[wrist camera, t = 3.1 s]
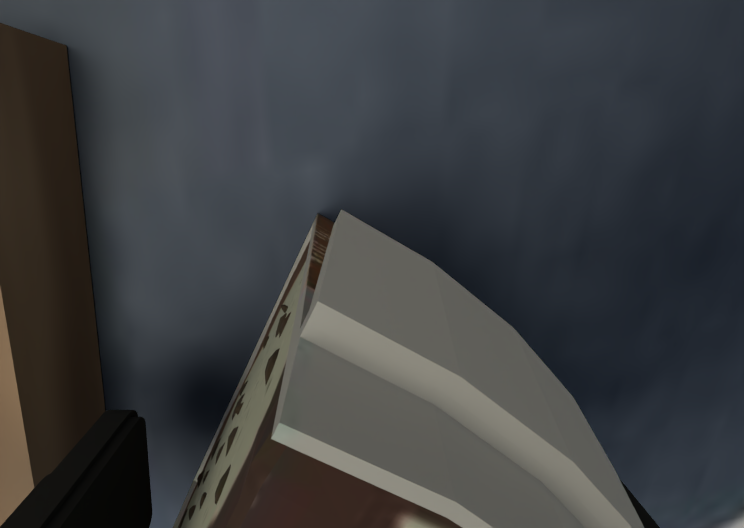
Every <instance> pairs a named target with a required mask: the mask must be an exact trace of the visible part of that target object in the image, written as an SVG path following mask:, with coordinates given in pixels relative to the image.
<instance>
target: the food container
mask: <svg viewBox="0 0 744 528" xmlns="http://www.w3.org/2000/svg"><path fill="white" fill-rule="evenodd" d="M173 528H644V526H643V524H642V522H641V520H640V518H639V516H638V514H637V512H636V510H635V508H634V507H633V505H632V503H631V501H630V499H629V497H628V495H627V493H626V491H625V489H624V487H623V485H622V483H621V481H620V479H619V477H618V475H617V473H616V471H615V469H614V468H613V466H612V464H611V462H610V460H609V459H608V457H607V455H606V453H605V452H604V450H603V448H602V446H601V445H600V443H599V441H598V439H597V438H596V436H595V434H594V432H593V431H592V429H591V427H590V425H589V424H588V422H587V420H586V418H585V417H584V415H583V413H582V412H581V410H580V408H579V406H578V405H577V403H576V401H575V399H574V398H573V396H572V395H571V394H570V393H569V392H568V390H567V389H566V388H565V387H564V386H563V385H562V383H561V382H560V381H559V380H558V379H557V378H556V376H555V375H554V374H553V373H552V372H551V371H550V370H549V368H548V367H547V366H546V365H545V364H544V363H543V361H542V360H541V359H540V358H539V357H538V356H537V354H536V353H535V352H534V351H533V350H532V349H531V347H530V346H529V345H528V344H527V343H526V342H525V340H524V339H523V338H522V337H521V336H520V335H519V334H518V332H517V331H516V330H515V329H514V328H513V327H512V326H511V325H509V324H508V323H507V322H506V321H504V320H503V319H502V318H501V317H500V316H498V315H497V314H496V313H495V312H493V311H492V310H491V309H490V308H488V307H487V306H486V305H485V304H484V303H482V302H481V301H480V300H479V299H477V298H476V297H475V296H474V295H472V294H471V293H470V292H469V291H468V290H466V289H465V288H464V287H463V286H461V285H460V284H459V283H458V282H456V281H455V280H454V279H453V278H452V277H450V276H449V275H448V274H447V273H445V272H444V271H443V270H442V269H441V268H439V267H438V266H437V265H436V264H434V263H433V262H432V261H430V260H428V259H426V258H425V257H423V256H421V255H419V254H418V253H416V252H414V251H413V250H411V249H409V248H407V247H406V246H404V245H402V244H400V243H399V242H397V241H395V240H393V239H392V238H390V237H388V236H387V235H385V234H383V233H381V232H380V231H378V230H376V229H374V228H373V227H371V226H369V225H368V224H366V223H364V222H362V221H361V220H359V219H357V218H355V217H354V216H352V215H350V214H349V213H347V212H345V211H343V210H342V209H341V211H340V213H339V215H338V217H337V219H336V221H335V223H334V222H332V221H331V220H329V219H327V218H325V217H323V216H322V215H320V214H317V216H316V218H315V220H314V222H313V224H312V227H311V229H310V231H309V233H308V235H307V237H306V240H305V242H304V244H303V246H302V248H301V250H300V252H299V255H298V257H297V259H296V261H295V263H294V265H293V268H292V270H291V272H290V274H289V276H288V278H287V280H286V283H285V285H284V287H283V289H282V291H281V293H280V296H279V298H278V300H277V302H276V304H275V306H274V308H273V311H272V313H271V315H270V317H269V319H268V321H267V323H266V326H265V328H264V330H263V332H262V334H261V336H260V339H259V341H258V343H257V345H256V347H255V349H254V351H253V354H252V356H251V358H250V360H249V362H248V364H247V367H246V369H245V371H244V373H243V375H242V377H241V379H240V382H239V384H238V386H237V388H236V390H235V392H234V395H233V397H232V399H231V401H230V403H229V405H228V407H227V410H226V412H225V414H224V416H223V418H222V420H221V423H220V425H219V427H218V429H217V431H216V433H215V435H214V438H213V440H212V442H211V444H210V446H209V448H208V450H207V453H206V455H205V457H204V459H203V461H202V463H201V466H200V468H199V470H198V472H197V474H196V476H195V478H194V481H193V483H192V485H191V487H190V490H189V492H188V494H187V497H186V499H185V501H184V503H183V506H182V508H181V510H180V513H179V515H178V517H177V519H176V522H175V524H174V526H173Z"/></svg>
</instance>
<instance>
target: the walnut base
mask: <svg viewBox="0 0 744 528" xmlns="http://www.w3.org/2000/svg"><path fill="white" fill-rule="evenodd" d="M104 412H105V403H104V394H103V384H102V375H101V366H100V356H99V347H98V337H97V328H96V319H95V309H94V300H93V291H92V281H91V272H90V262H89V253H88V244H87V234H86V225H85V215H84V206H83V197H82V187H81V178H80V169H79V159H78V150H77V140H76V131H75V122H74V112H73V103H72V94H71V84H70V75H69V65H68V56H67V47H66V45H63V44H60V43H57V42H54V41H51V40H48V39H45V38H43V37H40V36H37V35H34V34H31V33H28V32H25V31H22V30H19V29H16V28H13V27H11V26H8V25H5V24H2V23H0V526H1V525H2V524H3V523H4V522H5V521H6V519H7V518H8V517H9V516H10V515H11V514H12V513H13V512H14V510H15V509H16V508H17V507H18V506H19V505H20V504H21V502H22V501H23V500H24V499H25V498H26V497H27V496H28V495H29V493H30V492H31V491H32V490H33V489H34V488H35V487H36V486H37V484H38V483H39V482H40V481H41V480H42V479H43V478H44V477H45V476H47V475H48V474H50V473H52V471H53V470H54V469H55V468H56V467H57V466H58V465H59V463H60V462H61V461H62V460H63V459H64V458H65V457H66V455H67V454H68V453H69V452H70V451H71V450H72V449H73V447H74V446H75V445H76V444H77V443H78V442H79V441H80V439H81V438H82V437H83V436H84V435H85V434H86V433H87V431H88V430H89V429H90V428H91V427H92V426H93V425H94V423H95V422H96V421H97V420H98V419H99V418H100V417H101V415H102V414H103V413H104Z"/></svg>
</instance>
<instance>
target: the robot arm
mask: <svg viewBox="0 0 744 528" xmlns="http://www.w3.org/2000/svg"><path fill="white" fill-rule="evenodd" d="M620 481H621V480H620ZM621 483H622V485H623V487H624V489H625V491H626V493H627V495H628V497H629V499H630V501H631V503H632V505H633V507H634V508H635V510H636V512H637V514H638V516H639V518H640V520H641V522H642V524H643V526H644V528H660V527H659V526H658V525H657V524H656V522H655V521H654V520H653V519H652V518H651V516H650V515H649V514H648V513H647V512H646V510H645V509H644V508H643V507H642V505H641V504H640V503H639V502H638V501H637V499H636V498H635V497H634V496H633V495H632V493H631V492H630V491H629V490H628V488H627V487H626V486H625V485H624V484H623V482H622V481H621ZM151 518H152V503H151V490H150V477H149V464H148V451H147V438H146V425H145V419H144V418H143V417H138V414H137V412H136V411H134V410H107V411H105V412H104V413H103V414H102V415H101V417H100V418H99V419H98V420H97V421H96V422H95V423H94V425H93V426H92V427H91V428H90V429H89V430H88V431H87V433H86V434H85V435H84V436H83V437H82V438H81V439H80V441H79V442H78V443H77V444H76V445H75V446H74V447H73V449H72V450H71V451H70V452H69V453H68V454H67V455H66V457H65V458H64V459H63V460H62V461H61V462H60V463H59V465H58V466H57V467H56V468H55V469H54V470H53V471H52V473H50V474H48V475H47V476H45V477H44V478H43V479H42V480H41V481H40V482H39V483H38V484H37V486H36V487H35V488H34V489H33V490H32V491H31V492H30V493H29V495H28V496H27V497H26V498H25V499H24V500H23V501H22V502H21V504H20V505H19V506H18V507H17V508H16V509H15V510H14V512H13V513H12V514H11V515H10V516H9V517H8V518H7V519H6V521H5V522H4V523H3V524H2V525H1V526H0V528H149V526H150V522H151Z"/></svg>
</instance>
